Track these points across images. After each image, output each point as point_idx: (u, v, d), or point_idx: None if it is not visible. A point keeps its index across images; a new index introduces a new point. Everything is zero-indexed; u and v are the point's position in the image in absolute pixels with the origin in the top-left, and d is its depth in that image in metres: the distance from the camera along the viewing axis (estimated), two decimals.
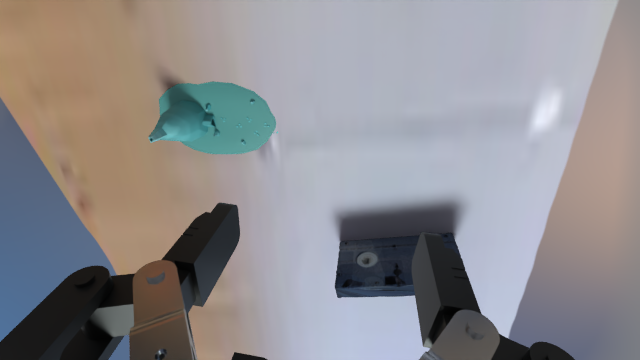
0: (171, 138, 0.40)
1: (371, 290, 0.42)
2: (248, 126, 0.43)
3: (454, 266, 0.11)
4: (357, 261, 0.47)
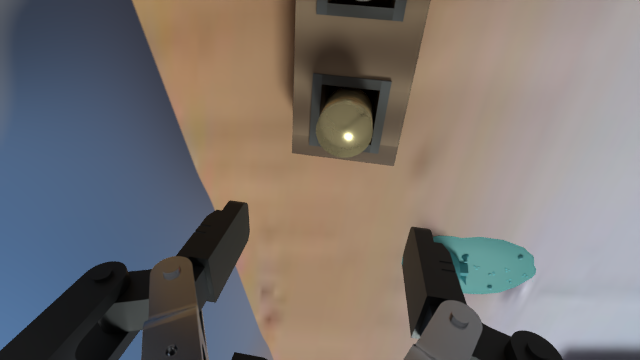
0: None
1: None
2: (502, 275, 0.41)
3: (442, 259, 0.11)
4: None
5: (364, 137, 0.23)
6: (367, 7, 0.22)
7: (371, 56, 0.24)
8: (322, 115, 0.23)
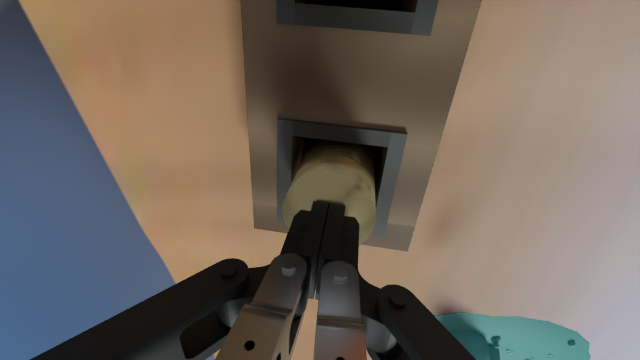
0: None
1: None
2: None
3: (350, 230, 0.12)
4: None
5: (362, 225, 0.14)
6: (366, 10, 0.12)
7: (373, 94, 0.14)
8: (291, 191, 0.14)
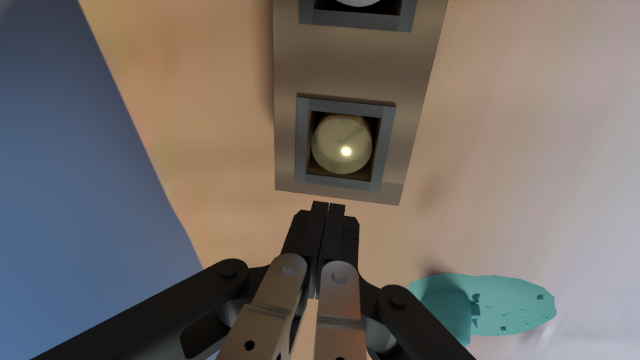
0: None
1: None
2: (518, 316, 0.36)
3: (350, 230, 0.12)
4: None
5: (363, 152, 0.22)
6: (365, 14, 0.17)
7: (370, 76, 0.19)
8: (318, 129, 0.21)
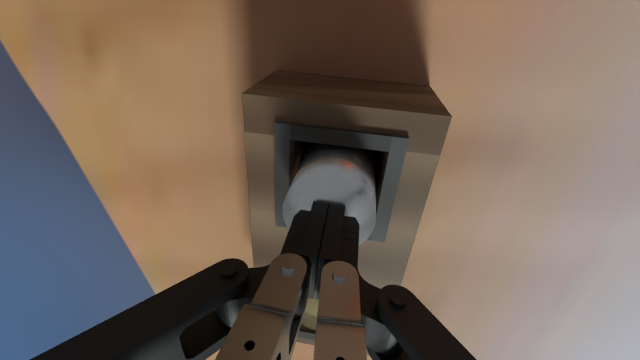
0: None
1: None
2: None
3: (350, 230, 0.12)
4: None
5: None
6: None
7: None
8: None
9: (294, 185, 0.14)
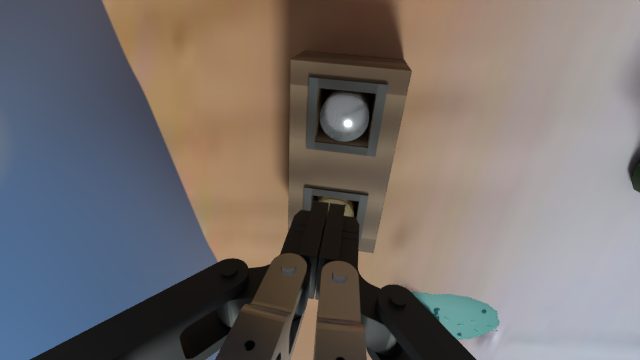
0: None
1: None
2: (469, 325, 0.46)
3: (350, 230, 0.12)
4: None
5: None
6: (346, 146, 0.28)
7: (351, 177, 0.30)
8: None
9: (326, 100, 0.26)
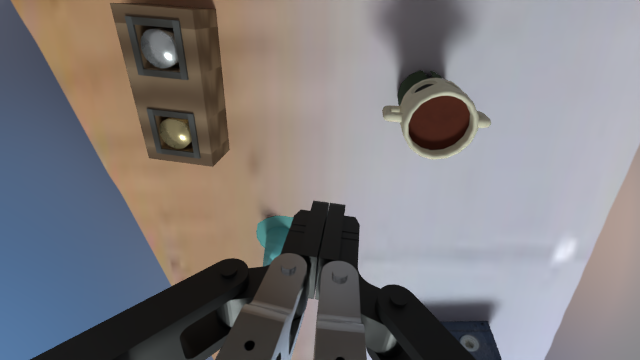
0: None
1: None
2: None
3: (350, 230, 0.12)
4: None
5: (185, 137, 0.42)
6: (165, 72, 0.37)
7: (178, 99, 0.39)
8: (160, 125, 0.41)
9: (142, 35, 0.36)
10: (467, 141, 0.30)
